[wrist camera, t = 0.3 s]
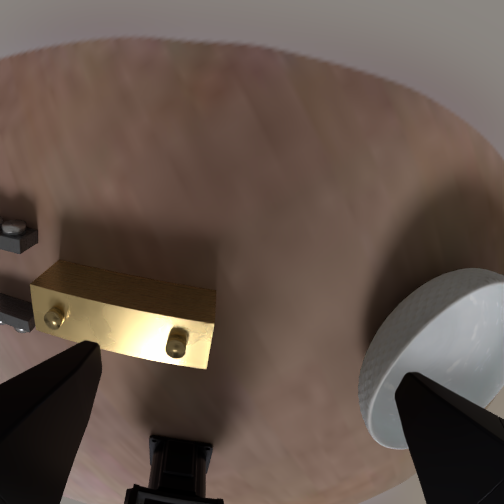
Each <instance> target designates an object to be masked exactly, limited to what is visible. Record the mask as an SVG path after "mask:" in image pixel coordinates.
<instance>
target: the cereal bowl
mask: <svg viewBox="0 0 504 504" xmlns="http://www.w3.org/2000/svg"><path fill="white" fill-rule="evenodd" d="M408 372H419V373H421V374H423V375H424V376H426V377H428V378H430V379H431V380H433V381H435V382H437V383H439V384H440V385H442V386H444V387H446V388H447V389H449V390H451V391H453V392H455V393H456V394H458V395H460V396H462V397H464V398H466V399H467V400H469V401H471V402H473V403H475V404H476V405H478V406H480V407H482V408H485V407H486V406H487V405H488V404H489V403H490V402H491V400H492V399H493V398H494V397H495V396H496V395H497V393H498V392H499V391H500V390H501V388H502V387H503V386H504V276H503V275H501V274H498V273H496V272H493V271H490V270H487V269H481V268H465V269H458V270H456V271H451V272H448V273H445V274H442V275H440V276H438V277H436V278H434V279H432V280H430V281H428V282H426V283H424V284H423V285H422V286H421V287H419V288H417V289H416V290H415V291H413V292H412V293H411V294H410V295H408V296H407V298H405V299H404V300H403V301H402V302H401V303H399V304H398V306H397V307H396V308H395V309H394V310H393V312H392V313H390V315H389V316H388V317H387V318H386V320H385V321H384V322H383V324H382V325H381V327H380V328H379V330H378V331H377V332H376V335H375V336H374V338H373V340H372V342H371V343H370V346H369V348H368V350H367V352H366V355H365V358H364V360H363V364H362V367H361V371H360V376H359V385H358V397H359V405H360V411H361V413H362V417H363V419H364V421H365V425H366V427H367V429H368V431H369V433H370V434H371V436H372V437H373V439H374V440H375V441H376V442H378V443H379V444H381V445H382V446H385V447H387V448H392V449H409V448H408V445H407V442H406V439H405V436H404V433H403V429H402V425H401V421H400V417H399V413H398V409H397V405H396V402H395V391H396V389H397V388H398V386H399V384H400V382H401V380H402V378H403V377H404V375H405V374H406V373H408Z"/></svg>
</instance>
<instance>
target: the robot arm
mask: <svg viewBox="0 0 504 504" xmlns="http://www.w3.org/2000/svg"><path fill="white" fill-rule="evenodd" d="M101 373H102V361H101V350H100V345H99V344H98V343H97V342H92V341H88V340H84V341H82V342H80V343H78V344H76V345H74V346H72V347H70V348H68V349H67V350H65V351H63V352H61V353H59V354H57V355H55V356H53V357H51V358H49V359H48V360H46V361H44V362H42V363H40V364H38V365H36V366H34V367H32V368H30V369H28V370H27V371H25V372H23V373H21V374H19V375H17V376H15V377H13V378H11V379H9V380H7V381H6V382H4V383H2V384H0V504H60V501H61V498H62V495H63V492H64V489H65V486H66V483H67V480H68V477H69V474H70V471H71V468H72V465H73V462H74V459H75V456H76V454H77V451H78V448H79V445H80V443H81V440H82V437H83V435H84V432H85V429H86V427H87V424H88V421H89V418H90V414H91V411H92V407H93V403H94V399H95V395H96V392H97V388H98V385H99V381H100V377H101ZM395 402H396V405H397V409H398V413H399V417H400V421H401V425H402V429H403V433H404V436H405V439H406V442H407V445H408V448H409V451H410V454H411V457H412V460H413V463H414V466H415V469H416V472H417V475H418V478H419V481H420V484H421V487H422V490H423V494H424V497H425V500H426V504H504V419H502V418H500V417H498V416H497V415H495V414H493V413H491V412H489V411H487V410H486V409H484V408H482V407H480V406H478V405H476V404H475V403H473V402H471V401H469V400H467V399H466V398H464V397H462V396H460V395H458V394H456V393H455V392H453V391H451V390H449V389H447V388H446V387H444V386H442V385H440V384H439V383H437V382H435V381H433V380H431V379H430V378H428V377H426V376H424V375H423V374H421V373H419V372H408V373H406V374H405V375H404V377H403V378H402V380H401V382H400V384H399V386H398V388H397V389H396V391H395ZM149 448H150V465H151V472H150V478H149V485H148V488H146V487H142V486H139V485H137V484H134V486H133V488H131V489H127V491H126V496H125V501H124V504H224V501H223V499H218V498H217V499H211V498H205V496H206V474H207V471H208V467H209V463H210V459H211V455H212V451H213V445H211V444H208V443H199V442H192V441H185V440H178V439H172V438H166V437H160V436H155V435H151V436H150V438H149Z"/></svg>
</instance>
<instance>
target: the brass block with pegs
mask: <svg viewBox="0 0 504 504" xmlns="http://www.w3.org/2000/svg"><path fill="white" fill-rule="evenodd" d="M30 289H31V298H32V306H33V313H34V320H35V326H36V330H38V331H41V332H44V333H47V334H51V335H54V336H57V337H60V338H64V339H67V340H71V341H74V342H78V343H80V342H82V341H84V340H88V341H92V342H97V343H98V344H99V345H100V349H104V350H108V351H113V352H117V353H121V354H125V355H130V356H134V357H139V358H144V359H149V360H154V361H159V362H164V363H170V364H175V365H181V366H187V367H193V368H200V369H206V368H207V362H208V357H209V351H210V346H211V340H212V335H213V329H214V323H215V304H216V290H210V289H204V288H198V287H193V286H187V285H181V284H176V283H170V282H165V281H159V280H154V279H149V278H144V277H138V276H133V275H128V274H123V273H118V272H113V271H108V270H104V269H99V268H94V267H89V266H85V265H80V264H76V263H71V262H67V261H62V260H58V261H57V262H56V263H55V264H53V265H52V266H51V267H50V268H48V269H47V270H46V271H45V272H44V273H43V274H41V275H40V276H39V277H38V278H37V279H35V280H34V281H33V282H32V283H31V284H30Z"/></svg>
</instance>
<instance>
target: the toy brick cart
mask: <svg viewBox="0 0 504 504" xmlns="http://www.w3.org/2000/svg"><path fill="white" fill-rule="evenodd" d="M37 243H38V230H35V229H30V228H26V222H25V221H22V220H9V221H6V222H4V223H3V217H1V216H0V249H2V250H6V251H10V252H14V253H17V254H21V253H23V252H24V251H26V250H27V249H29V248H30V247H32V246H34V245H35V244H37ZM5 324H8V325H10V326H13V327H14V329H15V330H16V331H17V332H20V333H26V332H31V331H32V330H33V328H34V327H35V320H34V313H33V306H32V303H29V302H26V301H23V300H19V299H16V298H13V297H10V296H7V295H4V294H1V293H0V325H5Z"/></svg>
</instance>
